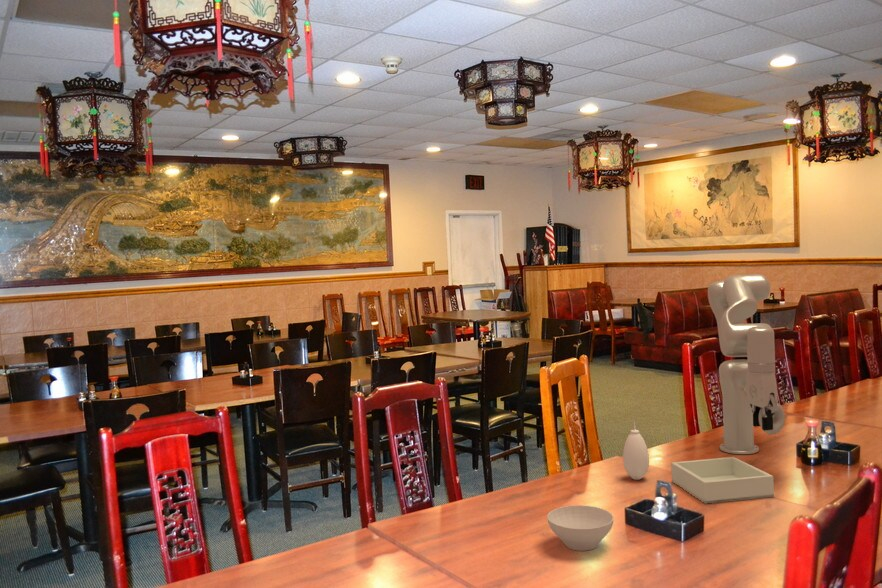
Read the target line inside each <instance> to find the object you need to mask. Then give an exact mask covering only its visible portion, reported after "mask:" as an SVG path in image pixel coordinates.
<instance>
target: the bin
mask: <svg viewBox="0 0 882 588" xmlns="http://www.w3.org/2000/svg"><path fill="white" fill-rule="evenodd" d="M670 464H671V469H670V470H671V483H673V484H674V483H675V484H674V485H676V484H677V485H679V486H680V487H682V488H683V489H684V490H683V489H682V488H681V489H682V490H683V491H685V490H686V491H687V493H688V492H689V493H688V494H689V495H691V494H692V496H693V497H694V496H695V497H694V498H696V499H697V498H698V499H697V500H699V501H700V500H701V501H700V502H702V503H703V502H704V503H703V504H705V505H708V504H707V503H712V504H718V503H717V502H722V503H729V502H728V501H731V502H739V501H738V500H741V501H749V500H757V499H758V500H759V499H770V498H775V489H774V481H775V480H774V475H772V474H769V472H766V471H764V470H762V469H760V468H757V467H756V466H754V465H751V464H749V463H747V462H745V461H743V460H741V459H739V458H737V457H735V456H727V457H718V458H705V459H697V460H685V461H684V460H683V461H674V462H671V463H670ZM677 485H676V486H677ZM679 486H678V487H679ZM680 487H679V488H680ZM686 491H685V492H686Z"/></svg>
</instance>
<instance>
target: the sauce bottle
mask: <svg viewBox="0 0 882 588" xmlns="http://www.w3.org/2000/svg"><path fill="white" fill-rule="evenodd" d="M649 456H650V454H649V450H648V447H647V444H646V441H645V439H644V438H643V436H642V435H641V433H640V430H638V429H636V422H635V421H634V422H633V429H631V430H630V433H629V434H628V436H627V438H626V441H625V443H624V446H623V452H622V460H623V461H622V462H623V467H624V469H625V472H626V473H627V475H628V476H629V477H630V478H631V479H633V480H634V481H635V480H636V481H639V480H641V479H643V477H645V476H646V475H647V472H648V470H649V467H650V466H649V465H650V457H649Z"/></svg>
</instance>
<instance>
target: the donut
mask: <svg viewBox="0 0 882 588" xmlns="http://www.w3.org/2000/svg"><path fill="white" fill-rule="evenodd" d="M768 406H769V405H768ZM777 407H778V411H776V412H775V413H774V417H773V430H765V431H764V430H762V431H764V433H766V434H769V435H776V434H778V433H780V432H781V431H782V429H783V428H784V426H785V422H786V413H785V410H784V408H783V406H782V405H781V404H780V403H779V402H778V403H777ZM768 410H769V409H766V411H768ZM762 417H763V410H762V408H761V409H760V411H759V424H760V426H759V427H760V428H761V429H762Z"/></svg>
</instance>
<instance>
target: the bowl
mask: <svg viewBox="0 0 882 588" xmlns="http://www.w3.org/2000/svg"><path fill="white" fill-rule="evenodd" d="M546 517H547V518H546V520H547V522H548V526H549V527H550V529H551V530H552V532H553V533H554V535H556V537H558V538H559V539H560V541H562V542H563V543H564V545H565V546H566V547H567V548H568V549H570V550H573V551H578V552H579V551H580V552H585V551H586V552H587V551H591V550H595V548H597V547H598V545H599V544H600V543H601V542H602V540H603V539H605V537H606V536H607V535H608V534H609V533H610V531H611V529H612V528H613V525H614V515H613V514H612V513H611V512H610V511H608V510H607V509H603V508H601V507H597V506H591V505H579V504H578V505H576V504H575V505H567V506H566V505H565V506H561V507H557V508H555V509H552V510H551V511H550V512H548V513H547V515H546Z"/></svg>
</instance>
